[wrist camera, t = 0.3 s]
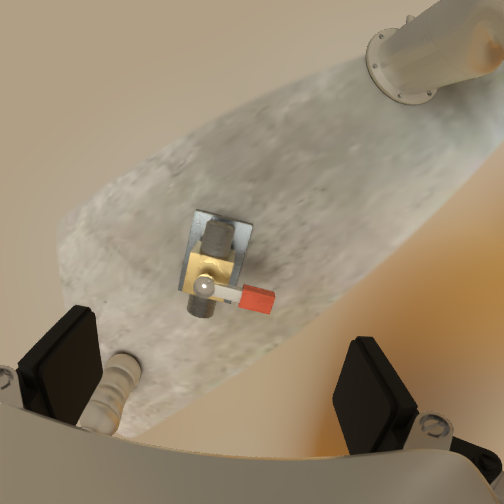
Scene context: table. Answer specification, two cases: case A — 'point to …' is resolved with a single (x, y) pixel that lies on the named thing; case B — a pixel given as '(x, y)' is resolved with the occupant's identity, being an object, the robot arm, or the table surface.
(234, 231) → the valve
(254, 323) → the table surface
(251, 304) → the lever
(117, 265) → the table surface
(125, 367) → the plastic bottle
